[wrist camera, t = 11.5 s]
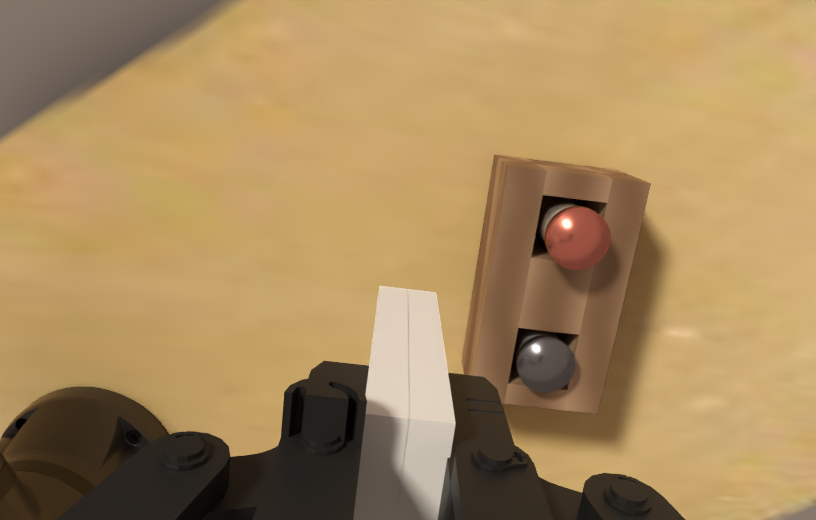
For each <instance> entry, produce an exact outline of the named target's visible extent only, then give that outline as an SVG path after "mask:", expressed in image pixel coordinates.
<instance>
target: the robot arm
mask: <svg viewBox="0 0 816 520" xmlns="http://www.w3.org/2000/svg"><path fill="white" fill-rule="evenodd" d="M0 520H685V519H684V518H683V517H682V516H681V515H680V514H679V513H678V512H677V511H676V510H675V508H674V507H673V506H672V505H671V504H670V503H669V502H668V501H667V500H666V499H665V498H664V497H663V496H662V495H660V494H659V493H658V492H657V491H655V490H654V489H653V488H652V487H650V486H648V485H646V484H644V483H642V482H640V481H638V480H637V479H635V478H632V477H629V476H628V477H627V476H626V475H621V474H609V473H602V474H598V475H593V476H591V477H590V478H589V479H588V480H586V481H585V484H584V488H583V492H582V493H581V492H577V491H574V490H571V489H568V488H564V487H561V486H558V485H555V484H553V483H550V482H548V481H545V480H544V479H542V478H540V477H538V474H537V471H536V468H535V465H534V463H533V462H532V460H531V458H530V457H529V455H528V454H526V453H525V452H524V451H522V450H521V449H520V448H519V447H517V446H515V445H514V442H513V439H512V436H511V432H510V429H509V426H508V423H507V419H506V416H505V415H504V409H503V406H502V405H501V399H500V396H499V393H498V390H497V388H496V387H495V386H494V385H493V384H491V383H490V382H489V381H488V380H487V379H486V378H485V377H481V376H472V375H463V374H454V373H448V369H447V362H446V355H445V349H444V342H443V335H442V328H441V322H440V315H439V308H438V301H437V295H436V292H429V291H421V290H412V289H403V288H395V287H386V286H379V294H378V302H377V309H376V317H375V325H374V332H373V340H372V348H371V356H370V363H369V366H366V365H357V364H348V363H339V362H330V361H323V362H322V363H320V364H319V365H318V366H316V367H315V368H314V369H312V370H311V372H310V375H309V378H308V379H304V380H300V381H298V382H296V383H294V384H292V385H290V386H289V387H288V389H287V390H286V391H285V392H284V405H283V418H282V431H281V439H280V442H279V445H278V446H277V447H275V448H273V449H271V450H268V451H265V452H262V453H259V454H253V455H246V456H236V457H230V452H229V446H228V445H227V444H226V443H225V442H224V441H223V440H222V439H220V438H218V437H215V436H213V435H211V434H208V433H200V432H193V431H186V432H178V433H173V434H170V435H167V433H166V431H165V430H164V428H163V427H162V426H161V424H160V423H159V422H158V421H157V419H156V418H155V417H154V416H153V415H152V414H151V413H149V412H148V411H147V410H146V409H145V408H143V407H142V406H141V405H139V404H138V403H136V402H135V401H133V400H131V399H129V398H127V397H125V396H123V395H121V394H118V393H115V392H112V391H109V390H105V389H100V388H94V387H71V388H65V389H60V390H57V391H54V392H51V393H48V394H46V395H44V396H42V397H41V398H39V399H37V400H36V401H34V402H33V403H32V404H31V405H30V406H28V407H27V408H26V409H25V410H24V411H23V412H21V413H20V414H19V415H18V416H17V417H16V418H15V419H14V420H13V421H12V422H11V423H10V425H9V426H8V427H7V429H6V430H5V432H4V433H3V435H2V437H1V439H0Z"/></svg>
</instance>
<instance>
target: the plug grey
mask: <svg viewBox="0 0 816 520" xmlns="http://www.w3.org/2000/svg"><path fill="white" fill-rule="evenodd" d="M514 353H515V355H516V368H517V371H518V373H519V376H520V378H521V380H522V381H523V383H524V384H525V385H526V386H527V387H529V388H530V389H532V390H534V391H537V392H553V391H556V390H558V389H560V388H562V387H564V386H565V385H566V384H567V383H568V382H569V381H570V380H571V378H572V376H573V374H574V371H575V358H574V355H573V353H572V352H571V350H570V348H569V347H568V345H567V344H566V343H565V342H564V341H563V340H562V339H560V338H558V336H557V335H556V333H555V332H551V331H542V330H533V329H524V328H518V332H517V338H516V343H515V348H514Z"/></svg>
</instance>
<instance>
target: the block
mask: <svg viewBox="0 0 816 520" xmlns="http://www.w3.org/2000/svg"><path fill="white" fill-rule="evenodd" d="M650 185H651V183H648V182H646V181H643V180H641V179H638V178H636V177H633V176H631V175H628V174H626V173H623V172H621V171H618V170H612V169H604V168H596V167H588V166H580V165H572V164H564V163H556V162H548V161H540V160H532V159H524V158H516V157H508V156H500V155H494V161H493V167H492V173H491V180H490V186H489V192H488V198H487V205H486V211H485V217H484V223H483V230H482V236H481V242H480V248H479V255H478V261H477V267H476V273H475V280H474V286H473V292H472V299H471V305H470V311H469V317H468V324H467V330H466V336H465V342H464V349H463V355H462V366H463V370H464V375H472V376H481V377H485V378H486V379H487V380H488V381H489V382H490V383H491V384H493V385H494V386H495V387H496V388H497V390H498V393H499V396H500V399H501V403H502V404H511V405H520V406H529V407H538V408H547V409H556V410H565V411H575V412H584V413H593V414H598V410H599V406H600V402H601V397H602V393H603V389H604V384H605V380H606V376H607V371H608V367H609V363H610V358H611V354H612V350H613V345H614V341H615V337H616V332H617V328H618V324H619V319H620V315H621V310H622V306H623V302H624V297H625V293H626V289H627V284H628V280H629V276H630V271H631V267H632V263H633V258H634V254H635V250H636V245H637V241H638V237H639V232H640V228H641V224H642V219H643V215H644V211H645V206H646V202H647V198H648V193H649V189H650ZM543 195H548V196H556V197H564V198H572V199H578V201H577V205H578V206H583V207H587V208H590V209H592V210H593V211H595V212H596V213H598V214H599V215H601V216H602V217H603V218H604V219H605V221H606V222H607V224H608V226H609V229H610V234H611V241H610V246H609V249H608V251H607V253H606V254H605V256H604V257H603V258H602V259H601V260H600V261H599V262H598V263H597V264H595V265H594V266H592V267H590V268H587V269H583V270H571V269H567V268H564V267H562V266H561V265H559V264H558V263H557V262H556V261H555V260H554V259H553V258H552V257H551V256H550V254H549V253H548V251H547V249H546V246H545V242H544V241H543V240H542V239H541V238H535V234H536V229H537V223H538V218H539V212H540V207H541V202H542V196H543ZM518 328H524V329H533V330H542V331H551V332H555V333H556V335H557V336H558V338H560V339H562V340H563V341H564V342H565V343H566V344H567V345H568V347H569V348H570V350H571V352H572V353H573V355H574V358H575V371H574V374H573V376H572V378H571V380H570V381H569V382H568V383H567V384H566V385H565V386H564V387H562V388H560V389H558V390H556V391H553V392H537V391H534V390H532V389H530V388H529V387H527V386H526V385H525V384H524V383H523V381H522V380H521V378H520V376H519V373H518V371H517V368H516V355H515V353H514V348H515V343H516V338H517V332H518Z"/></svg>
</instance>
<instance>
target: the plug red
mask: <svg viewBox="0 0 816 520" xmlns="http://www.w3.org/2000/svg"><path fill="white" fill-rule="evenodd" d="M536 233H537V234H538V235H539V237H540V238H541V239H542V240H543V241H544V242H545V246H546V249H547V251H548V253H549V254H550V256H551V257H552V258H553V259H554V260H555V261H556V262H557V263H558V264H559V265H561V266H562V267H564V268H567V269H571V270H583V269H587V268H590V267H592V266H594V265H595V264H597V263H598V262H599V261H600V260H601V259H602V258H603V257H604V256H605V254H606V253H607V251H608V249H609V246H610V241H611V234H610V229H609V226H608V224H607V222H606V221H605V219H604V218H603V217H602V216H601V215H599V214H598V213H596V212H595V211H593V210H592V209H590V208H587V207H583V206H578V205H577V204H575V203H574V202H572V201H571V200H569V199H568V198H564V197H556V196H548V195H547V196H544V197H542V202H541V207H540V212H539V218H538V223H537V229H536Z"/></svg>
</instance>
